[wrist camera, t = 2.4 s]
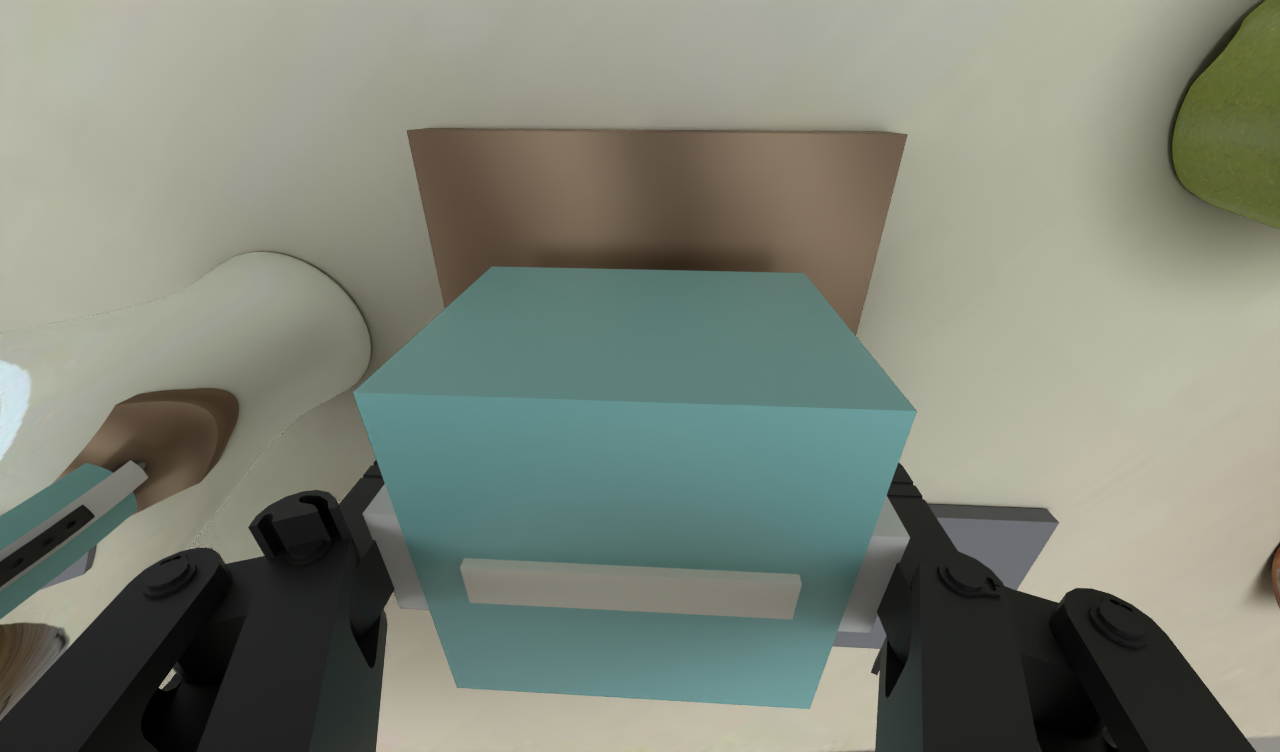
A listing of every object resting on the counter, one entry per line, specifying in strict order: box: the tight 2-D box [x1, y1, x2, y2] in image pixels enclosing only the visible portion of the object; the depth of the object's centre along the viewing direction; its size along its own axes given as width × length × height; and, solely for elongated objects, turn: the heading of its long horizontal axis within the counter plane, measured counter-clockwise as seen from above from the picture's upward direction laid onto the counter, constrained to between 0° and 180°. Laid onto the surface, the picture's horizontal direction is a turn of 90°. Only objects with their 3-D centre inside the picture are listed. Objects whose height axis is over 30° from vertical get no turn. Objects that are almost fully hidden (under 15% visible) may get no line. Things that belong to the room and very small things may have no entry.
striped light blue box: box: [353, 266, 917, 709], centre depth 11 cm, size 8×8×6 cm
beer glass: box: [0, 252, 371, 721], centre depth 12 cm, size 7×7×15 cm
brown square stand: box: [407, 128, 907, 336], centre depth 14 cm, size 14×14×10 cm
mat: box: [832, 504, 1059, 649], centre depth 23 cm, size 10×10×1 cm
